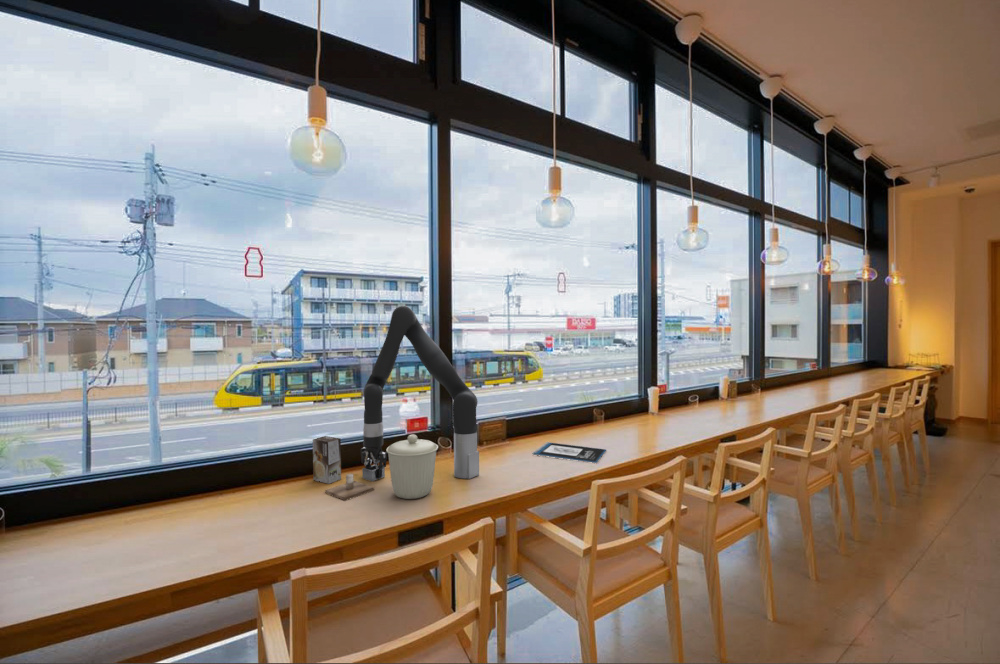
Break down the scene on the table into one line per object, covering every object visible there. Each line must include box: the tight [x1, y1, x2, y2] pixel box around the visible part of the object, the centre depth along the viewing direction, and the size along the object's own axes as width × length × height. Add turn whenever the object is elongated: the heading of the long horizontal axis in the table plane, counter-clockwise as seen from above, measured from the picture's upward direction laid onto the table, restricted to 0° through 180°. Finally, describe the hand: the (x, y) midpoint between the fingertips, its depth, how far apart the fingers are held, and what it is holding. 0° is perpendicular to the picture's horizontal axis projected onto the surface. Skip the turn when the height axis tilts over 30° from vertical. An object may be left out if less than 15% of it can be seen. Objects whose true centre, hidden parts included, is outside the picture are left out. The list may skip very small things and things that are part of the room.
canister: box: [385, 434, 439, 500], centre depth 154 cm, size 18×18×21 cm
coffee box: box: [312, 435, 342, 485], centre depth 169 cm, size 9×6×16 cm
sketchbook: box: [531, 441, 607, 464], centre depth 204 cm, size 22×30×2 cm
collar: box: [361, 464, 386, 482], centre depth 171 cm, size 6×6×4 cm
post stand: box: [324, 473, 375, 501], centre depth 156 cm, size 12×12×6 cm
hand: (373, 476), depth 171 cm, fingers closed on collar, 6 cm apart
